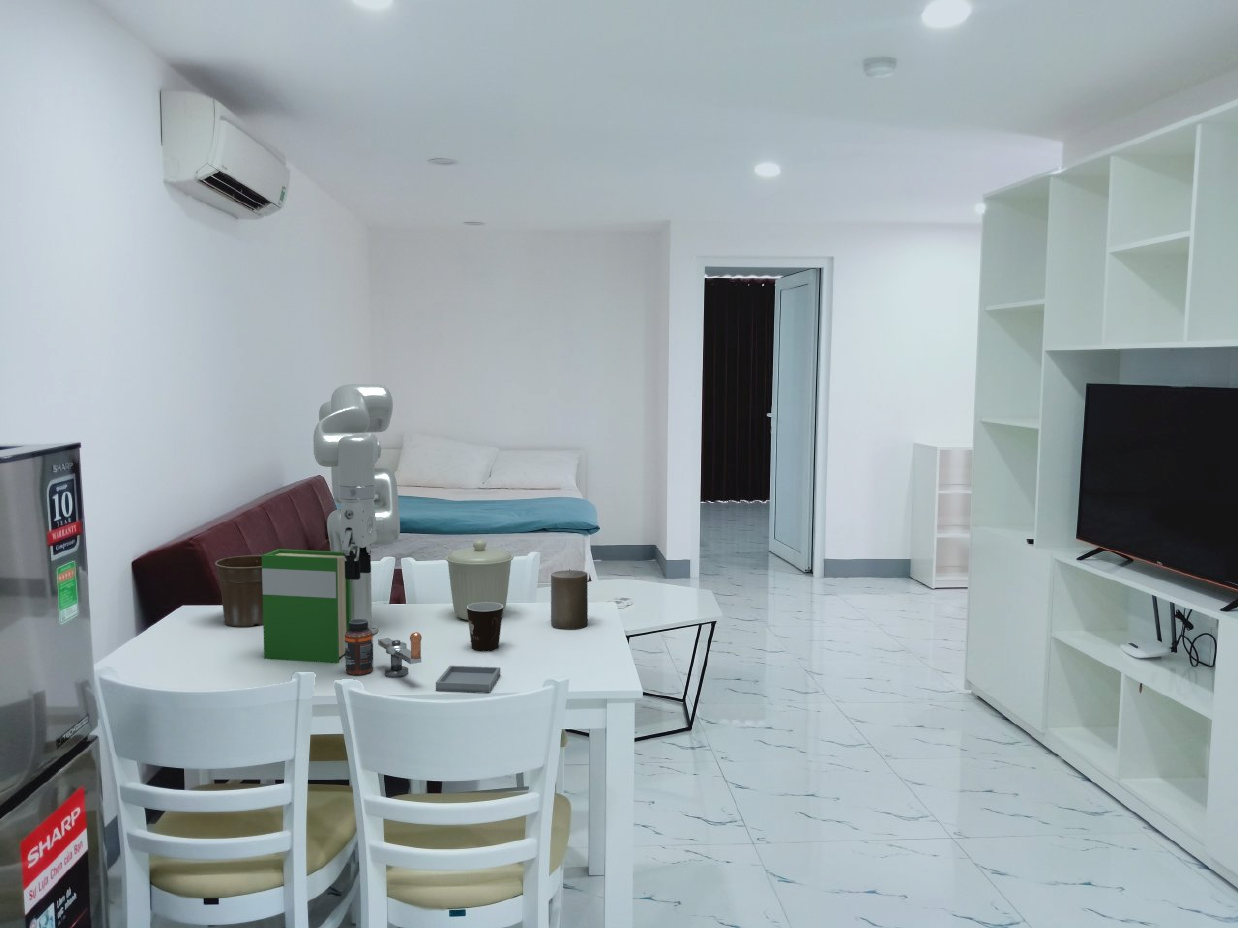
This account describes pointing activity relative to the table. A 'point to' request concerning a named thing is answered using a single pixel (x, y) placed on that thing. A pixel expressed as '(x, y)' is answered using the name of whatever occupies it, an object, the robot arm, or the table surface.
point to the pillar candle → (569, 599)
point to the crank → (404, 648)
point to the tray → (468, 679)
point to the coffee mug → (485, 625)
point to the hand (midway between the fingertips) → (358, 575)
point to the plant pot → (241, 590)
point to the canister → (478, 576)
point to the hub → (396, 668)
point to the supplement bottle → (359, 648)
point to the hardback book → (305, 605)
